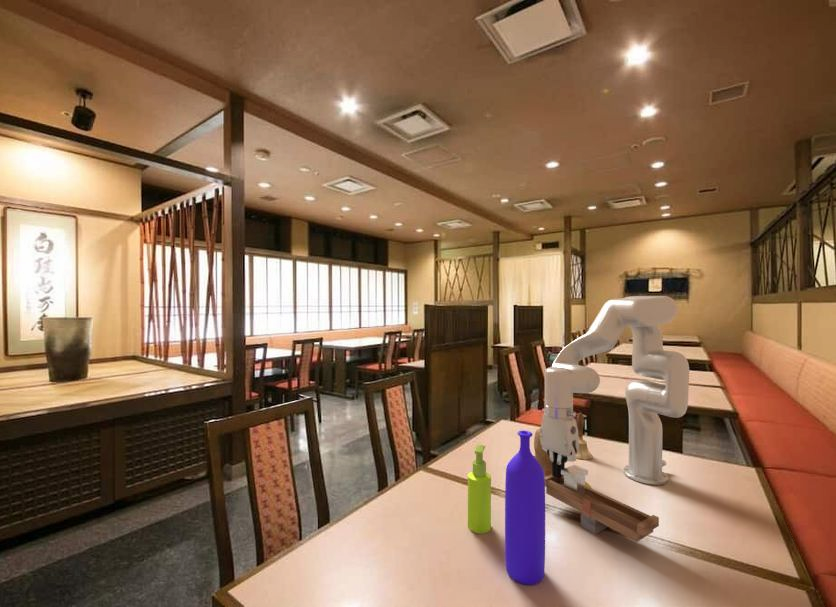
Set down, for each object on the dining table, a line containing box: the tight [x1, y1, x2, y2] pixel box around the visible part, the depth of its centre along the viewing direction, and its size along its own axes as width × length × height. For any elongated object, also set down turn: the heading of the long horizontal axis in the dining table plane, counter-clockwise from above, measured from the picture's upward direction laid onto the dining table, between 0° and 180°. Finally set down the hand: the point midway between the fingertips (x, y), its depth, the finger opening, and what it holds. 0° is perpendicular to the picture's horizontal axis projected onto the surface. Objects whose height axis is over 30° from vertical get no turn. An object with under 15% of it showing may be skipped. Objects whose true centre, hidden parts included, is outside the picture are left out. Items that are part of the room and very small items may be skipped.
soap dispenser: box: [467, 444, 492, 534], centre depth 97 cm, size 6×7×20 cm
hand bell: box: [575, 412, 593, 461], centre depth 142 cm, size 8×8×16 cm
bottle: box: [504, 430, 546, 586], centre depth 80 cm, size 8×8×30 cm
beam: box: [544, 474, 660, 543], centre depth 97 cm, size 7×27×8 cm, turn 32°
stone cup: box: [533, 427, 552, 477], centre depth 126 cm, size 15×12×15 cm
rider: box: [561, 464, 589, 495], centre depth 102 cm, size 6×4×6 cm, turn 122°
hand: (558, 476), depth 106 cm, fingers closed
